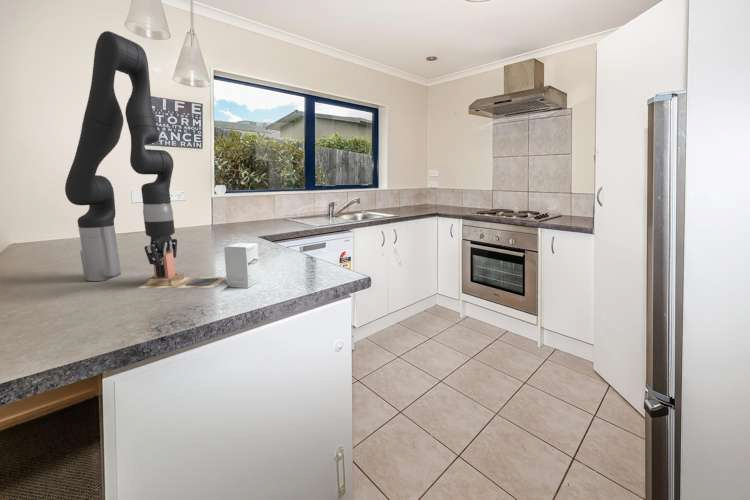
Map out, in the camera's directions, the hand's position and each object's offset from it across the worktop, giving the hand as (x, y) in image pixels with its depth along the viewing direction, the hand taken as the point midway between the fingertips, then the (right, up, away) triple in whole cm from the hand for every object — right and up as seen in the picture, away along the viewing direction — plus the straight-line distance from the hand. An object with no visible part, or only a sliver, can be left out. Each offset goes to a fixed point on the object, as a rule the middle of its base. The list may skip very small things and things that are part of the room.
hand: (165, 274), depth 110 cm
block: (0, -2, 0) cm, 2 cm away
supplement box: (+23, -3, +2) cm, 24 cm away
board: (+6, -3, +1) cm, 6 cm away
